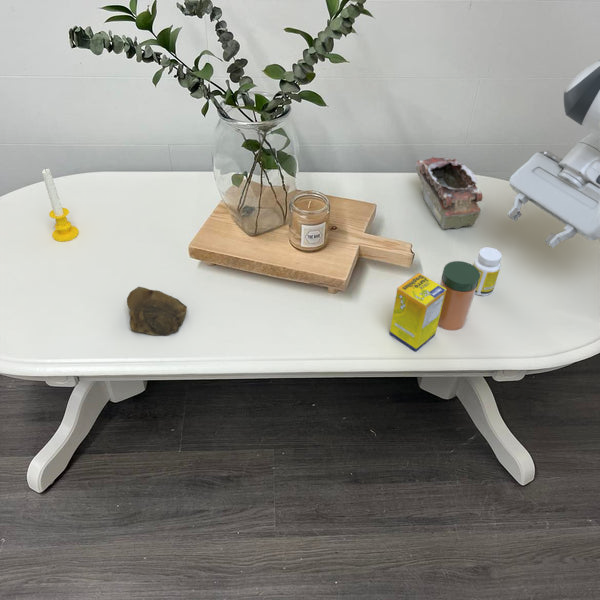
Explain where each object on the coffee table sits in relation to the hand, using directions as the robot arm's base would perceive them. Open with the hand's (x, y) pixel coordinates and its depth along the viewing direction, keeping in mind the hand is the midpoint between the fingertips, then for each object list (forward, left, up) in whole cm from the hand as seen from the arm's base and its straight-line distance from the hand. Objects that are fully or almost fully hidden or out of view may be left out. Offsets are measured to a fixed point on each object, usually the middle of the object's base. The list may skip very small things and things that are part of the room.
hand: (529, 230), depth 106 cm
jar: (-10, +17, -11) cm, 22 cm away
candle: (+26, +88, -11) cm, 93 cm away
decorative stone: (-2, +69, -11) cm, 70 cm away
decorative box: (+25, +7, -11) cm, 29 cm away
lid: (-10, +17, 0) cm, 20 cm away
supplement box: (-13, +25, -11) cm, 30 cm away
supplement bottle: (-3, +8, -11) cm, 14 cm away
